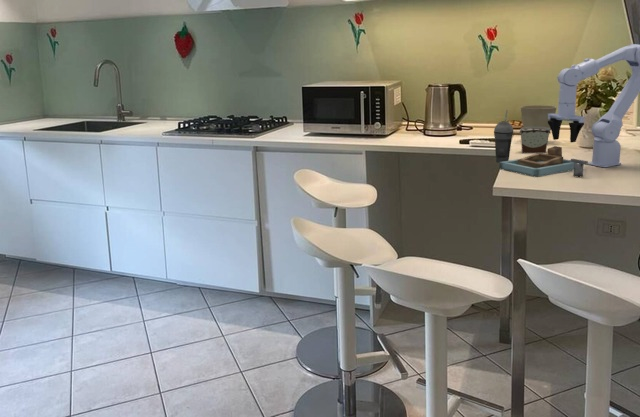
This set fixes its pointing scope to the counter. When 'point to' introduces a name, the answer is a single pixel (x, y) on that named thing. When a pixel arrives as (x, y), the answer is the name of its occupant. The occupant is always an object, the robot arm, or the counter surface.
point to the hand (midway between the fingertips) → (564, 140)
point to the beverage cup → (503, 140)
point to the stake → (578, 167)
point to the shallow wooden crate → (543, 158)
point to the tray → (536, 172)
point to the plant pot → (536, 115)
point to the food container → (534, 139)
